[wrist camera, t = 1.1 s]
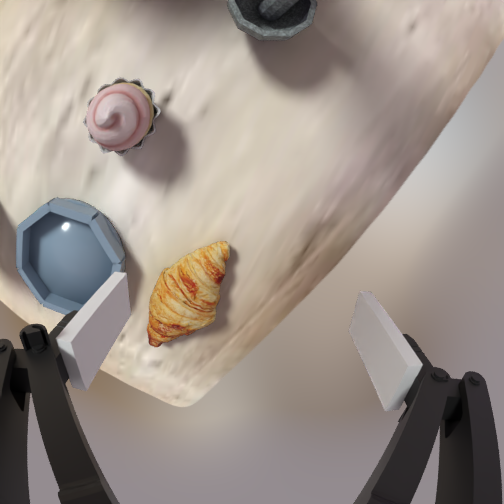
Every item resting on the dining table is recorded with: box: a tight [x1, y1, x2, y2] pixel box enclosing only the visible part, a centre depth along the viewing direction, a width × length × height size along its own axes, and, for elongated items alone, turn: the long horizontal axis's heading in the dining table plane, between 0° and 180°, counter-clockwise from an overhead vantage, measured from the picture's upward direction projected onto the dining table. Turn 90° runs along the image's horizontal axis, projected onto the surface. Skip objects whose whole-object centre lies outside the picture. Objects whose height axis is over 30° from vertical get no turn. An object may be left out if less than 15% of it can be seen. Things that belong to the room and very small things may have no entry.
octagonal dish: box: [16, 197, 126, 315], centre depth 38 cm, size 18×18×4 cm
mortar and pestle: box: [227, 0, 317, 40], centre depth 24 cm, size 11×9×12 cm
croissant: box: [147, 241, 230, 347], centre depth 42 cm, size 21×10×8 cm, turn 144°
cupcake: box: [83, 78, 161, 156], centre depth 29 cm, size 9×9×10 cm
